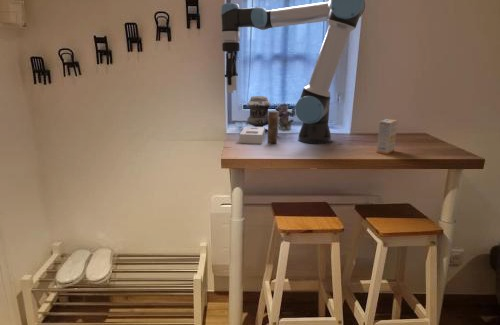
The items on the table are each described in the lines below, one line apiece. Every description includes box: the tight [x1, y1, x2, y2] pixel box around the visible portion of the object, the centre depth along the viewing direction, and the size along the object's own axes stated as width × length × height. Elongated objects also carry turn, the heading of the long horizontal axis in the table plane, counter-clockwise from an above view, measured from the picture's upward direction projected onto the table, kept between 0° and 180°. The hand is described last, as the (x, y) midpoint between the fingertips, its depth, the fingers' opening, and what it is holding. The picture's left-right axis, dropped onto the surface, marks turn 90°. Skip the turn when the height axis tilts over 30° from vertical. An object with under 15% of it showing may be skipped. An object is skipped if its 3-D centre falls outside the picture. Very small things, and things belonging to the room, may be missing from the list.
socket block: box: [239, 126, 266, 145], centre depth 174 cm, size 10×20×4 cm, turn 174°
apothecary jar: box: [247, 95, 271, 133], centre depth 191 cm, size 12×12×18 cm
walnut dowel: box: [267, 110, 278, 145], centre depth 165 cm, size 4×4×14 cm
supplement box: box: [376, 118, 399, 155], centre depth 151 cm, size 8×5×13 cm, turn 141°
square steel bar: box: [277, 111, 280, 138], centre depth 179 cm, size 4×4×12 cm
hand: (231, 91), depth 166 cm, fingers open, 13 cm apart
